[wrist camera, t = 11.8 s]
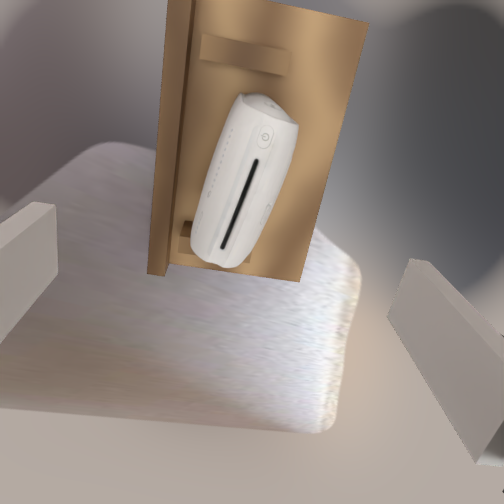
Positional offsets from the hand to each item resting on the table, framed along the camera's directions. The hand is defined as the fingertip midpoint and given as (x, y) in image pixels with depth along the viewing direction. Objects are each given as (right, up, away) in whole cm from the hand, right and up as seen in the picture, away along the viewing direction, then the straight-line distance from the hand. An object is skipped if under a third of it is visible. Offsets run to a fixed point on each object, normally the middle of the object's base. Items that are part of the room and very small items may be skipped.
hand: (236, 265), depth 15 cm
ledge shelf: (0, +9, +19) cm, 21 cm away
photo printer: (0, +9, +18) cm, 20 cm away
